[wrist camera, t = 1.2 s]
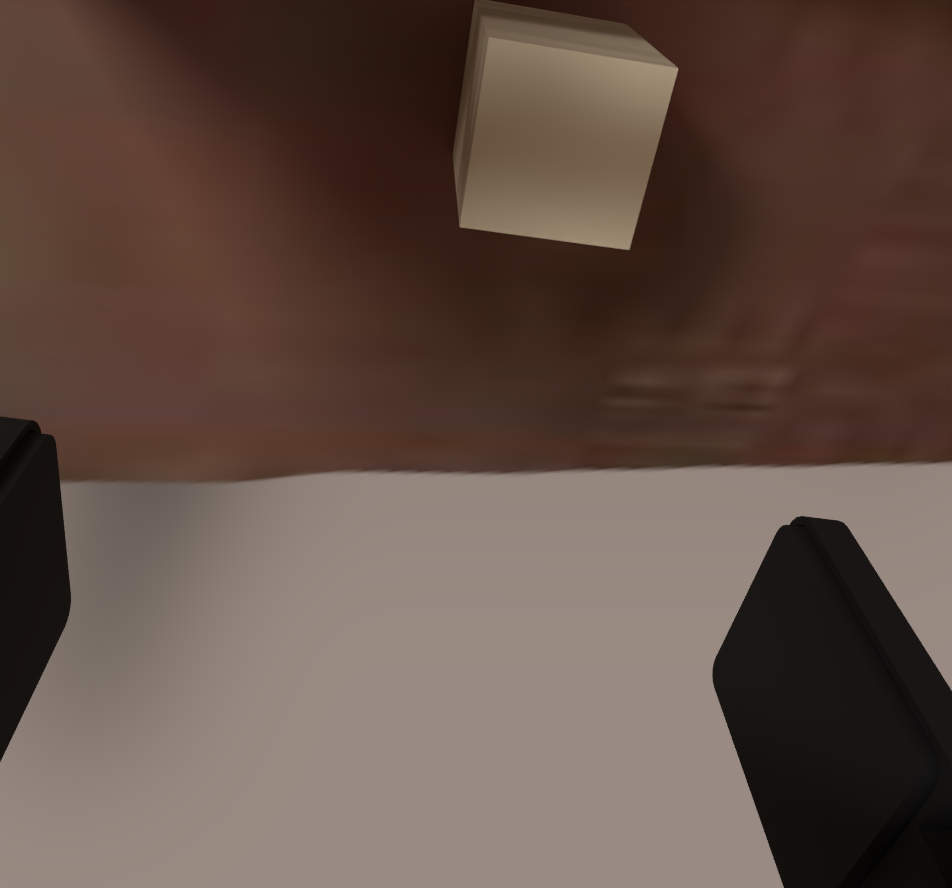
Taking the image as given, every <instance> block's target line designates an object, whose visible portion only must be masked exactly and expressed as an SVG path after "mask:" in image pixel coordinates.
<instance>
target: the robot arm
mask: <svg viewBox="0 0 952 888" xmlns="http://www.w3.org/2000/svg"><path fill="white" fill-rule="evenodd" d="M69 582H70V581H69V571H68V562H67V551H66V541H65V531H64V520H63V510H62V501H61V490H60V480H59V469H58V459H57V449H56V442H55V439H54V437H53V436H52V435H48V434H41V430H40V427H39V425H38V423H37V422H35V421H32V420H24V419H16V418H8V417H0V761H1V759H2V757H3V755H4V753H5V751H6V749H7V747H8V745H9V742H10V740H11V738H12V736H13V734H14V732H15V730H16V728H17V726H18V723H19V722H20V719H21V717H22V715H23V713H24V711H25V709H26V707H27V705H28V703H29V701H30V699H31V696H32V694H33V692H34V690H35V688H36V686H37V684H38V682H39V680H40V678H41V675H42V674H43V671H44V669H45V667H46V665H47V663H48V661H49V659H50V657H51V655H52V652H53V650H54V648H55V646H56V644H57V642H58V640H59V638H60V636H61V634H62V632H63V630H64V628H65V625H66V622H67V619H68V616H69V611H70V604H71V591H70V583H69ZM713 684H714V688H715V691H716V693H717V697H718V699H719V702H720V705H721V708H722V711H723V713H724V716H725V720H726V722H727V725H728V728H729V731H730V734H731V737H732V740H733V743H734V745H735V748H736V751H737V754H738V757H739V760H740V763H741V766H742V768H743V771H744V774H745V777H746V780H747V783H748V786H749V788H750V791H751V794H752V797H753V800H754V803H755V806H756V809H757V811H758V814H759V817H760V820H761V823H762V826H763V829H764V832H765V834H766V837H767V840H768V843H769V846H770V849H771V852H772V855H773V857H774V860H775V863H776V866H777V869H778V872H779V874H780V878H781V880H782V883H783V886H784V888H952V691H951V689H950V688H949V686H948V684H947V683H946V681H945V680H944V678H943V677H942V675H941V673H940V672H939V670H938V669H937V667H936V665H935V664H934V663H933V661H932V659H931V658H930V656H929V654H928V653H927V651H926V650H925V648H924V647H923V645H922V643H921V642H920V640H919V639H918V637H917V636H916V634H915V632H914V631H913V629H912V628H911V626H910V624H909V623H908V622H907V620H906V618H905V617H904V615H903V613H902V612H901V610H900V609H899V607H898V606H897V604H896V602H895V601H894V599H893V598H892V596H891V595H890V593H889V591H888V590H887V588H886V587H885V585H884V584H883V582H882V580H881V579H880V577H879V576H878V574H877V572H876V571H875V569H874V568H873V566H872V565H871V563H870V561H869V560H868V558H867V557H866V555H865V554H864V552H863V550H862V549H861V547H860V546H859V544H858V542H857V541H856V539H855V538H854V536H853V535H852V533H851V532H850V530H849V528H848V527H847V526H846V525H845V524H844V523H843V522H840V521H837V520H828V519H821V518H813V517H805V516H800V517H797V518H795V519H794V520H793V521H792V522H791V524H790V525H784V526H782V527H781V528H779V530H778V531H777V533H776V535H775V537H774V539H773V541H772V543H771V545H770V547H769V550H768V551H767V553H766V556H765V557H764V560H763V561H762V564H761V566H760V568H759V570H758V572H757V574H756V576H755V578H754V580H753V582H752V584H751V586H750V588H749V590H748V593H747V595H746V596H745V599H744V601H743V603H742V605H741V607H740V609H739V611H738V613H737V615H736V617H735V619H734V621H733V623H732V625H731V628H730V629H729V631H728V634H727V636H726V638H725V640H724V642H723V644H722V646H721V648H720V650H719V652H718V654H717V656H716V658H715V661H714V665H713Z"/></svg>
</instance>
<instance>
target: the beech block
mask: <svg viewBox="0 0 952 888" xmlns="http://www.w3.org/2000/svg"><path fill="white" fill-rule="evenodd" d="M678 69H679V68H677V67H676V66H675V65H674V64H673V63H672V62H670V61H669V60H668V59H667V58H666V57H665V56H663V55H662V54H661V53H660V52H659V51H657V50H656V49H655V48H654V47H653V46H652V45H650V44H649V43H648V42H647V41H646V40H645V39H643V38H642V37H641V36H640V35H639V34H637V33H636V32H635V31H634V30H633V29H632V28H630V27H629V26H628V25H627V24H624V23H618V22H612V21H606V20H600V19H595V18H589V17H583V16H577V15H571V14H565V13H560V12H554V11H548V10H542V9H536V8H530V7H524V6H519V5H513V4H507V3H501V2H495V1H489V0H474V7H473V14H472V22H471V29H470V36H469V43H468V50H467V57H466V64H465V71H464V78H463V85H462V92H461V99H460V106H459V114H458V121H457V128H456V135H455V142H454V149H453V165H454V175H455V185H456V196H457V206H458V216H459V226H460V227H461V228H469V229H476V230H484V231H491V232H498V233H506V234H513V235H521V236H528V237H535V238H543V239H550V240H558V241H565V242H572V243H580V244H587V245H595V246H602V247H609V248H617V249H624V250H629V249H630V246H631V242H632V238H633V235H634V231H635V227H636V224H637V220H638V216H639V212H640V209H641V205H642V201H643V198H644V194H645V190H646V187H647V183H648V179H649V176H650V172H651V168H652V165H653V161H654V157H655V153H656V150H657V146H658V142H659V139H660V135H661V131H662V128H663V124H664V120H665V117H666V113H667V109H668V105H669V102H670V98H671V94H672V91H673V87H674V83H675V80H676V76H677V72H678Z"/></svg>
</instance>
